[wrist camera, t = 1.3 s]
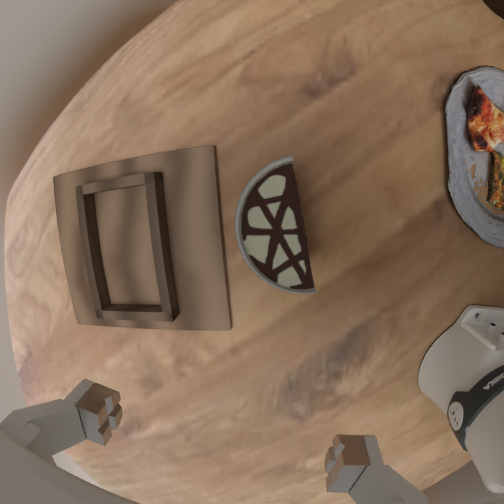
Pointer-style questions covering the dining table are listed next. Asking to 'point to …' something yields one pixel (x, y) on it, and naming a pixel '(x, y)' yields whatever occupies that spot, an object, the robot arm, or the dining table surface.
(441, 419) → the dining table surface
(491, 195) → the food plate
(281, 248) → the food container
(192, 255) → the caddy board
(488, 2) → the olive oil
